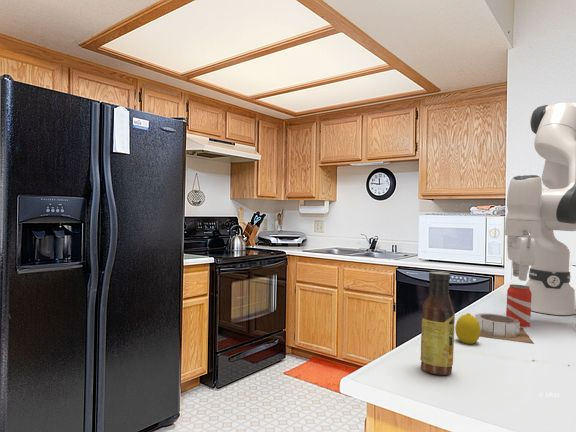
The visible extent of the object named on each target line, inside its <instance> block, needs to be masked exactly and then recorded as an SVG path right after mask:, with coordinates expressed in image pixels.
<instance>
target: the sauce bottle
mask: <svg viewBox="0 0 576 432" xmlns="http://www.w3.org/2000/svg"><path fill="white" fill-rule="evenodd" d="M428 280H429V289H428V293H429V295H428V296H427V297H426V299H425V300H424V302H423V304H422V317H421V335H420V336H421V337H420V339H421V340H420V361H421V362H420V368H421V369H422V371H424V372H425V373H429V374H432V375H437V376H438V375H440V376H445V375H450V374H451V373H452V371H453V364H454V347H455V346H454V343H455V320H456V319H455V318H456V317H455V314H456V313H455V312H456V311H455V309H454V307H453V303H452V300H451V297H450V291H449V289H450V282H451V281H450V280H451V273H449V272H443V271H429V273H428Z"/></svg>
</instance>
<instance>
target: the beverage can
mask: <svg viewBox="0 0 576 432" xmlns="http://www.w3.org/2000/svg"><path fill="white" fill-rule="evenodd" d="M529 288H530V287H528V286H525V284H524V285H523V284H513V283H512V284H509V287H508V288H507V291H506V311H505V312H506V313H505V316H509V317H512V318H515V319H517V320H519V322H520V328H529V327H531V318H532V317H531V316H532V315H531V314H532V313H531V297H532V293H531V291H530V289H529Z"/></svg>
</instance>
